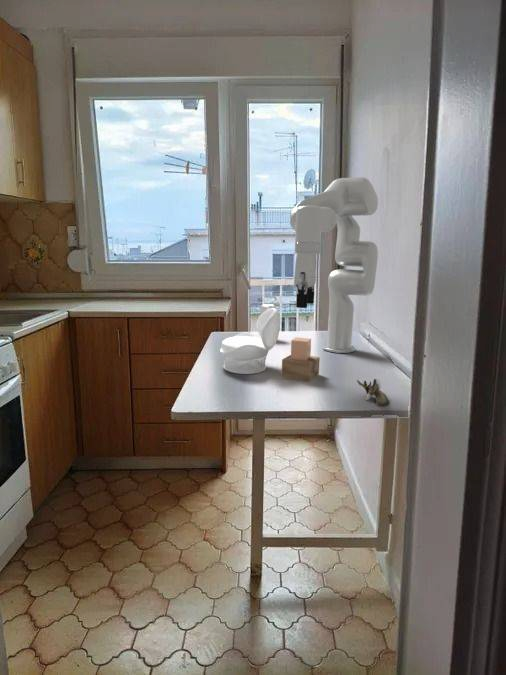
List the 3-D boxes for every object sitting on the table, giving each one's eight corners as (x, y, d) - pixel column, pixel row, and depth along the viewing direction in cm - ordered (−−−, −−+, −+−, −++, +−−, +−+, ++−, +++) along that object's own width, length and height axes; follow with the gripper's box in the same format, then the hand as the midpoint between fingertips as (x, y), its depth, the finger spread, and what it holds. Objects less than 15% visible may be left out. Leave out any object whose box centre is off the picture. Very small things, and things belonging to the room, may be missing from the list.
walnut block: (292, 371, 147) (293, 353, 146) (318, 375, 143) (319, 357, 142) (281, 377, 139) (282, 359, 138) (308, 382, 135) (309, 363, 134)
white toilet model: (219, 360, 158) (220, 304, 154) (275, 359, 160) (276, 304, 156) (219, 376, 139) (220, 313, 135) (282, 376, 140) (284, 313, 136)
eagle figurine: (349, 392, 122) (366, 397, 114) (362, 370, 123) (379, 373, 115) (370, 406, 124) (388, 412, 115) (382, 383, 125) (401, 388, 116)
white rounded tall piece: (275, 341, 190) (276, 306, 187) (259, 340, 190) (260, 306, 187) (274, 337, 197) (275, 304, 194) (259, 337, 197) (260, 303, 194)
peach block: (295, 355, 143) (295, 337, 142) (310, 357, 141) (311, 338, 140) (290, 359, 138) (291, 340, 137) (306, 360, 137) (307, 341, 135)
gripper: (301, 248, 142) (299, 301, 146) (287, 249, 126) (286, 308, 130) (325, 248, 140) (322, 302, 144) (314, 249, 124) (311, 310, 128)
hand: (305, 305), depth 137 cm, fingers open, 9 cm apart
